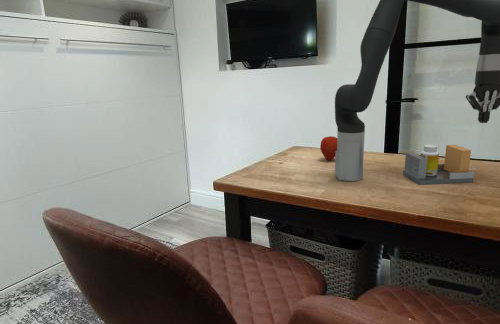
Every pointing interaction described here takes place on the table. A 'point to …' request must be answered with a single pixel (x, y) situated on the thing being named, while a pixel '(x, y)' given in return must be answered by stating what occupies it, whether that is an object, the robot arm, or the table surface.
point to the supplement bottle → (431, 159)
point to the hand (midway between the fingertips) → (483, 122)
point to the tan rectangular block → (457, 159)
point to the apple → (329, 147)
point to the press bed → (417, 173)
